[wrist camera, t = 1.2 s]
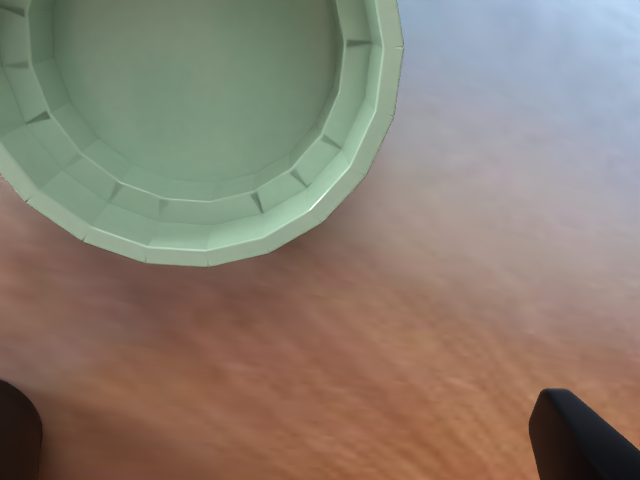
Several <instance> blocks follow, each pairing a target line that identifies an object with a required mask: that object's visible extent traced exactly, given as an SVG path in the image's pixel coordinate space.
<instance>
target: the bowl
mask: <svg viewBox="0 0 640 480" xmlns="http://www.w3.org/2000/svg"><path fill="white" fill-rule="evenodd" d="M403 46H404V42H403V35H402V29H401V23H400V16H399V10H398V4H397V0H0V173H1V174H2V175H3V177H4V178H5V179H6V180H7V181H8V182H9V184H10V185H11V186H12V187H13V188H14V190H15V191H16V192H17V193H18V194H19V196H20V197H21V198H22V199H23V200H24V201H25V202H27V204H28V205H30V206H31V207H33V208H34V209H35V210H37V211H38V212H40V213H41V214H43V215H44V216H46V217H47V218H49V219H50V220H51V221H53V222H54V223H56V224H57V225H59V226H60V227H62V228H63V229H65V230H66V231H68V232H69V233H70V234H72V235H73V236H75V237H76V238H78V239H79V240H81V241H84V242H85V243H87V244H90V245H93V246H96V247H99V248H102V249H104V250H107V251H110V252H113V253H116V254H119V255H122V256H125V257H128V258H130V259H133V260H136V261H139V262H142V263H145V262H146V264H159V265H176V266H193V267H213V266H217V265H222V264H226V263H230V262H235V261H239V260H243V259H248V258H252V257H256V256H261V255H265V254H268V253H270V252H273V251H274V250H276V249H278V248H280V247H281V246H283V245H285V244H287V243H288V242H290V241H292V240H293V239H295V238H297V237H299V236H300V235H302V234H304V233H306V232H307V231H309V230H311V229H313V228H314V227H316V226H318V225H320V224H321V223H322V222H324V221H325V220H326V219H327V218H328V217H329V216H330V215H331V213H332V212H333V211H334V210H335V209H336V208H337V207H338V206H339V205H340V204H341V203H342V202H343V201H344V199H345V198H346V197H347V196H348V195H349V194H350V193H351V192H352V191H353V190H354V189H355V188H356V187H357V185H358V184H359V183H360V182H361V181H362V180H363V179H364V178H365V176H366V175H367V173H368V171H369V169H370V167H371V165H372V163H373V161H374V158H375V156H376V154H377V152H378V150H379V148H380V146H381V144H382V142H383V140H384V137H385V135H386V133H387V131H388V129H389V127H390V125H391V123H392V121H393V118H394V117H393V116H394V114H395V108H396V101H397V94H398V87H399V80H400V73H401V66H402V59H403V52H404V48H403Z"/></svg>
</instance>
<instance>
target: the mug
mask: <svg viewBox="0 0 640 480" xmlns="http://www.w3.org/2000/svg"><path fill="white" fill-rule="evenodd" d="M41 439H42V424H41V421H40V418H39V415H38V413H37V411H36V409H35V408H34V406H33V405H32V403H31V402H30V400H29V399H28V398H27V397H26V396H25V395H24V394H23V393H22V392H20V391H19V390H18V389H16V388H15V387H13V386H12V385H10V384H8V383H7V382H5V381H2V380H0V480H38V471H39V455H40V444H41Z"/></svg>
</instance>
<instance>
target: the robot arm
mask: <svg viewBox="0 0 640 480" xmlns="http://www.w3.org/2000/svg"><path fill="white" fill-rule="evenodd" d="M529 435H530V439H531V444H532V448H533V452H534V456H535V460H536V464H537V469H538V473H539V477H540V480H640V451H639V450H638V449H637V448H636V447H635V446H634V445H632V444H631V443H630V442H629V441H628V440H627V439H626V438H624V437H623V436H622V435H621V434H620V433H619V432H617V431H616V430H615V429H614V428H613V427H612V426H610V425H609V424H608V423H607V422H606V421H605V420H603V419H602V418H601V417H600V416H599V415H598V414H596V413H595V412H594V411H593V410H592V409H591V408H590V407H588V406H587V405H586V404H585V403H584V402H583V401H581V400H580V399H579V398H578V397H577V396H576V395H574V394H573V393H572V392H571V391H569V390H567V389H563V388H546V389H543V390H542V391H541V392H540V394H539V396H538V399H537V402H536V404H535V407H534V409H533V412H532V415H531V417H530V420H529Z"/></svg>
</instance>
